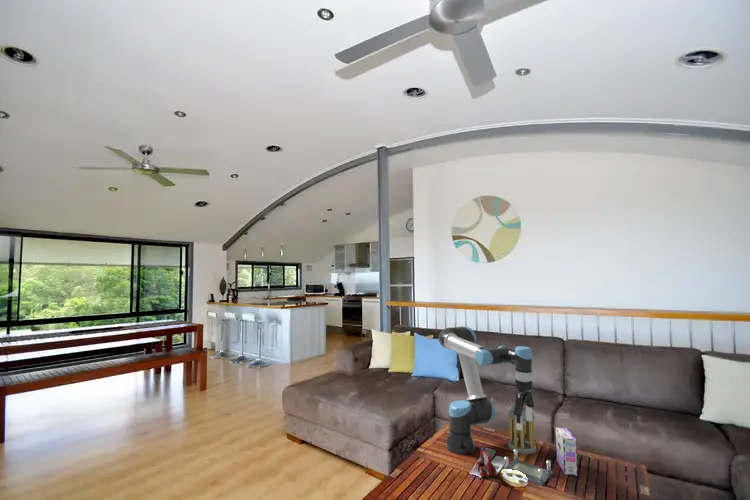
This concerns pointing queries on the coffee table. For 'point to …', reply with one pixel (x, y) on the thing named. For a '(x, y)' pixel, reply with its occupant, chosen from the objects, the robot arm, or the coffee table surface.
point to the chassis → (529, 469)
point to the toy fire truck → (485, 464)
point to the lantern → (521, 433)
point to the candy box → (566, 451)
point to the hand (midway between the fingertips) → (524, 425)
